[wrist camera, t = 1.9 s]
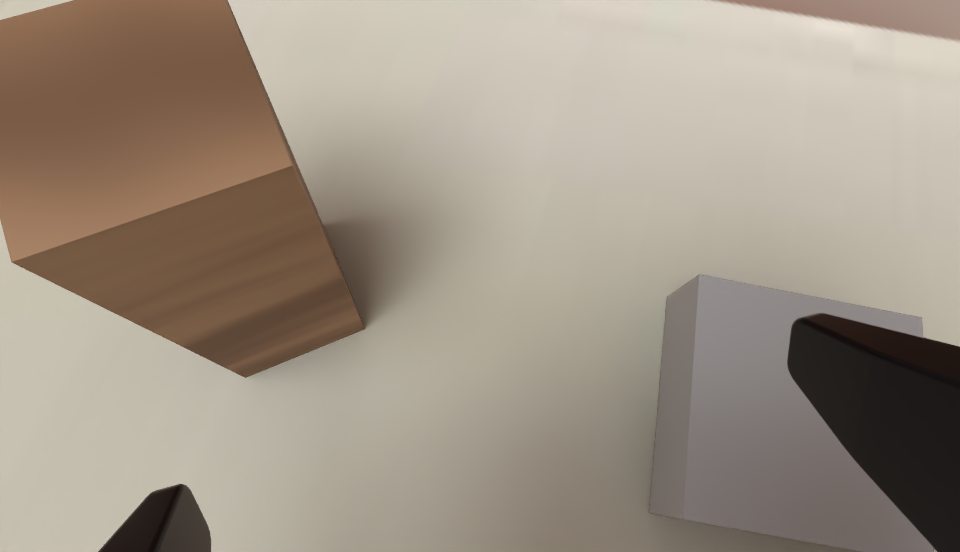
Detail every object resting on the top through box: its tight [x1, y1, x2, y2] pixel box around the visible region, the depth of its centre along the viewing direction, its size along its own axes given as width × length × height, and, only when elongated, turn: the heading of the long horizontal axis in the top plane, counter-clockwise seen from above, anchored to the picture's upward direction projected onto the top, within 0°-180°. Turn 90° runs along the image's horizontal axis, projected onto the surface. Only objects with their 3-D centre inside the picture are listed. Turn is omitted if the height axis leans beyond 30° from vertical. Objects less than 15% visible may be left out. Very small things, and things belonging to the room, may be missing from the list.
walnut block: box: [0, 0, 365, 378], centre depth 17 cm, size 4×4×13 cm
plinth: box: [649, 275, 934, 552], centre depth 22 cm, size 8×8×3 cm
